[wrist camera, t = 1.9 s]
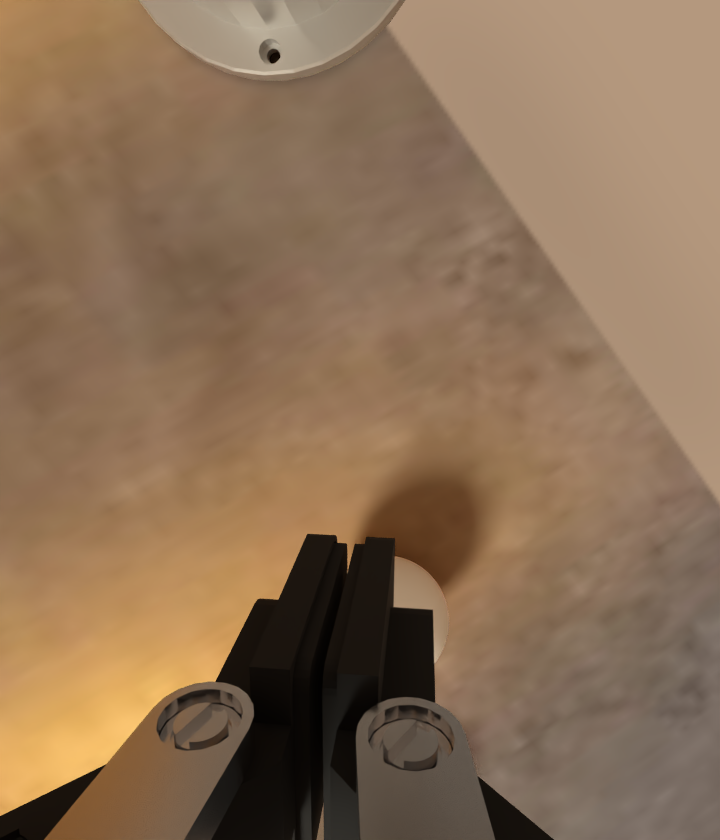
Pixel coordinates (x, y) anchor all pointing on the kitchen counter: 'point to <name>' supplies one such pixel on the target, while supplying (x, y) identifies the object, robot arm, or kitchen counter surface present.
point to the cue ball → (421, 597)
